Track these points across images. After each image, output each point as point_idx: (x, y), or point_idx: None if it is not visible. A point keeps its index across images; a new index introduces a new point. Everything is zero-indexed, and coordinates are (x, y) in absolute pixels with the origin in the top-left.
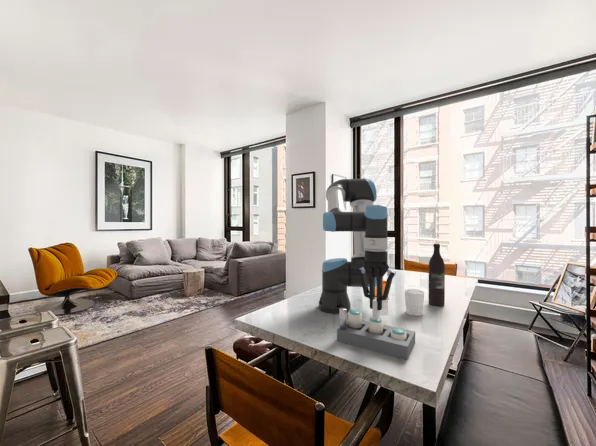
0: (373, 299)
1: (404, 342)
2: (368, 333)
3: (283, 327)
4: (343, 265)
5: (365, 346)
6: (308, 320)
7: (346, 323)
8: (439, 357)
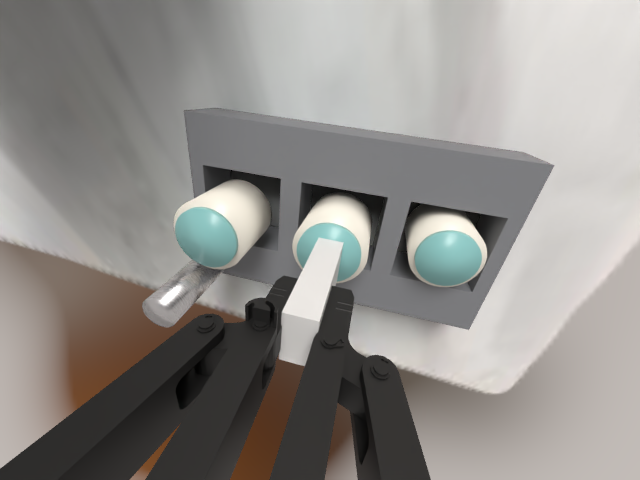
0: (280, 347)
1: (462, 303)
2: None
3: (45, 214)
4: None
5: None
6: (40, 111)
7: None
8: (597, 250)
